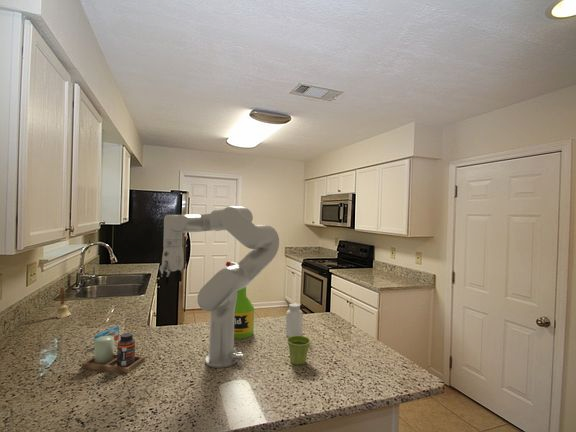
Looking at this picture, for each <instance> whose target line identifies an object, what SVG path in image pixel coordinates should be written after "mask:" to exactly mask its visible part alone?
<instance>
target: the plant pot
mask: <svg viewBox="0 0 576 432" xmlns="http://www.w3.org/2000/svg"><path fill="white" fill-rule="evenodd" d="M286 339H287V340H286V341H287V344H288V350H289V351H288V352H289V359H290V363H291V364H293V365H296V366H298V365H305V364H306V362H307V356H308V351H309V350H308V349H309V346H310V343H311V339H310V338H309V337H308V336H304V335H302V336H291V337H287V338H286Z"/></svg>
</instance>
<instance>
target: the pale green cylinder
mask: <svg viewBox="0 0 576 432" xmlns="http://www.w3.org/2000/svg"><path fill="white" fill-rule="evenodd" d="M93 341H94V345H93V346H94V347H93V353H94V354H93V357H94V363H95V364H104V365H106V364H107V363H109V362H110V361H112V360H114V353H115V350H114V349H115V340H114V337H113V336H102V337H99V338H97V339H95V338H94V340H93Z"/></svg>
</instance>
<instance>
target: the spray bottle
mask: <svg viewBox="0 0 576 432" xmlns="http://www.w3.org/2000/svg"><path fill="white" fill-rule="evenodd" d="M237 263H238V262H234V261H226V262H225V266H226V267H229V266H233V265H235V264H237ZM254 313H255V307H254V306H253V304H252V302H251V300H250V299H249V298H248V297H247V286H246V287H245V288H243V289H241V290H238V291H237V300H236V306H235V320H234V339H245V338H249V337H251V336H253V335H254V328H255V327H254V326H255V324H254V321H255V316H254V315H255V314H254Z"/></svg>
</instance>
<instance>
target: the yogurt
mask: <svg viewBox="0 0 576 432" xmlns="http://www.w3.org/2000/svg"><path fill="white" fill-rule="evenodd" d="M102 336H113V337H114V341H118V340H119V338H120V327H119V326H117V325H115V326H113V327H111V328H109V329H108V328H107V329H106V330H104V331H102V332H100V333H97V334H95V335H94V340H95V339H97V338H99V337H102ZM119 341H120V340H119Z"/></svg>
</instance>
